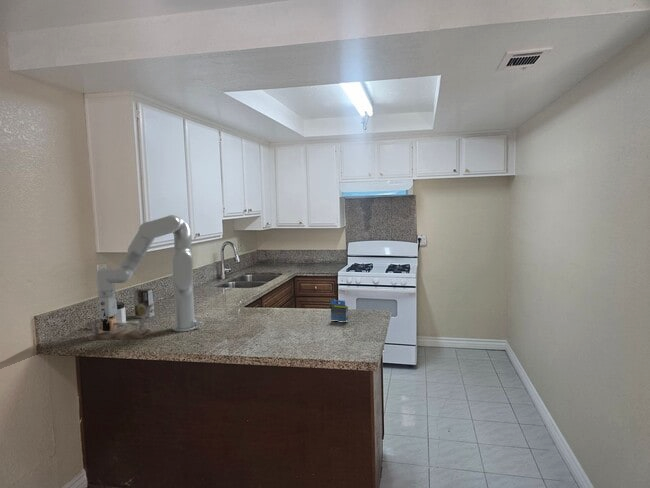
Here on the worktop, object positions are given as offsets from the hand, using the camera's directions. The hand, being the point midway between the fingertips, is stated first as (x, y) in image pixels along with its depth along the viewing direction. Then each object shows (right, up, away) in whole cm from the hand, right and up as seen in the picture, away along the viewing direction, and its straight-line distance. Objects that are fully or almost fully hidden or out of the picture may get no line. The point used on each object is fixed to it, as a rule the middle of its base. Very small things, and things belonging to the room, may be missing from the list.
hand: (109, 328), depth 211 cm
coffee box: (+2, -1, +38) cm, 38 cm away
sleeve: (0, 0, 0) cm, 0 cm away
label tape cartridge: (+116, 0, +19) cm, 118 cm away
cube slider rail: (+5, -4, +1) cm, 6 cm away
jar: (-6, -2, +21) cm, 22 cm away
